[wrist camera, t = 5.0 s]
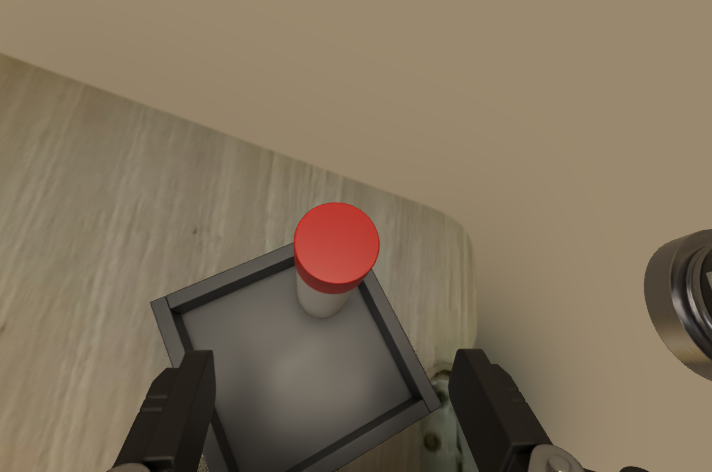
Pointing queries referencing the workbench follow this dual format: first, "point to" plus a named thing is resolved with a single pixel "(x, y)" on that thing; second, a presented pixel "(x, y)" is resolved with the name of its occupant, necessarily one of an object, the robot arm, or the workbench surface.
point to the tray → (295, 369)
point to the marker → (332, 256)
